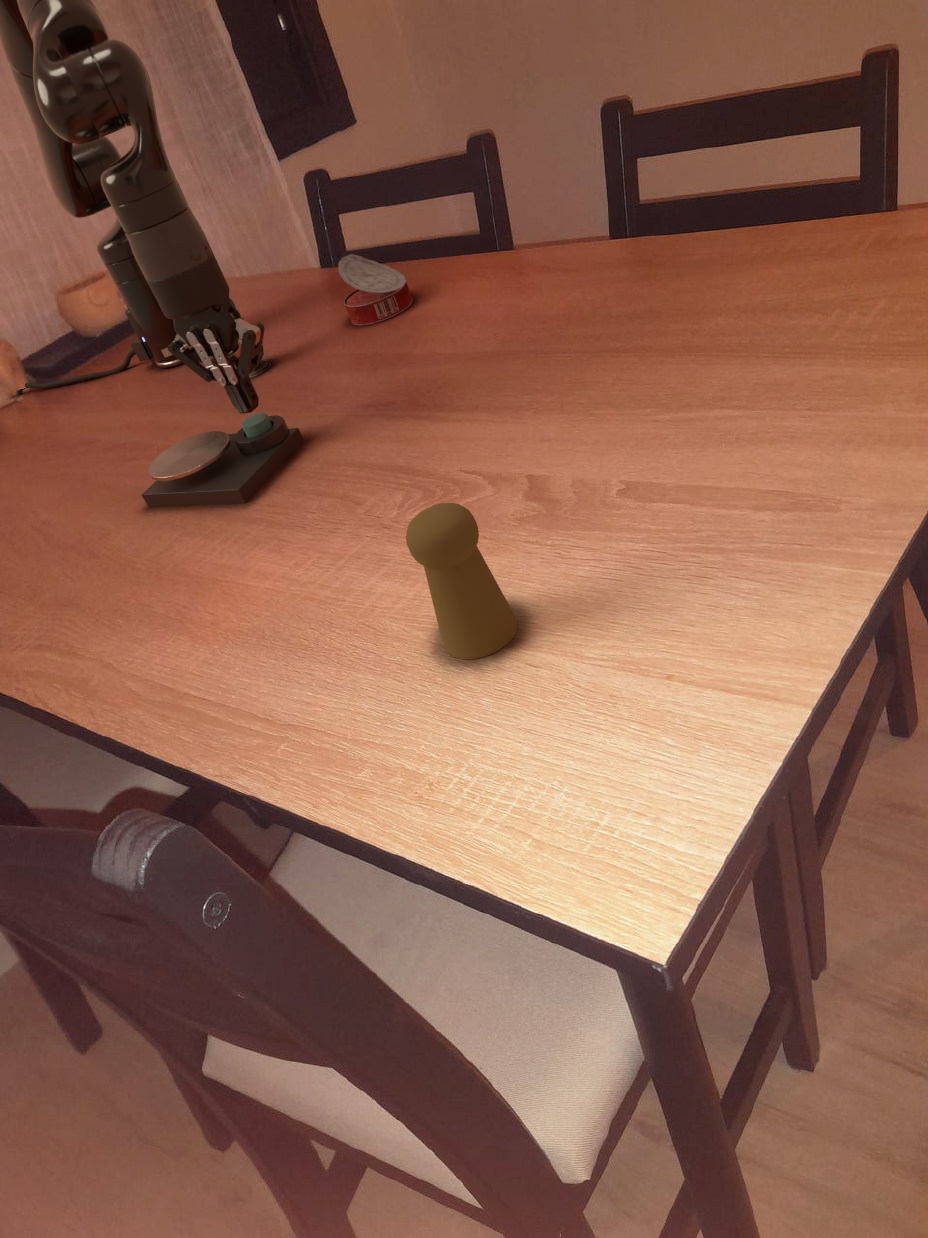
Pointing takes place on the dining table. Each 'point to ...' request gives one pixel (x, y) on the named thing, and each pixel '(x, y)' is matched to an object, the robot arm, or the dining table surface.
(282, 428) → the scale
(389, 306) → the canned food
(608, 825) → the dining table surface
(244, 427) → the tare button
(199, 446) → the scale pan
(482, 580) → the pawn piece
